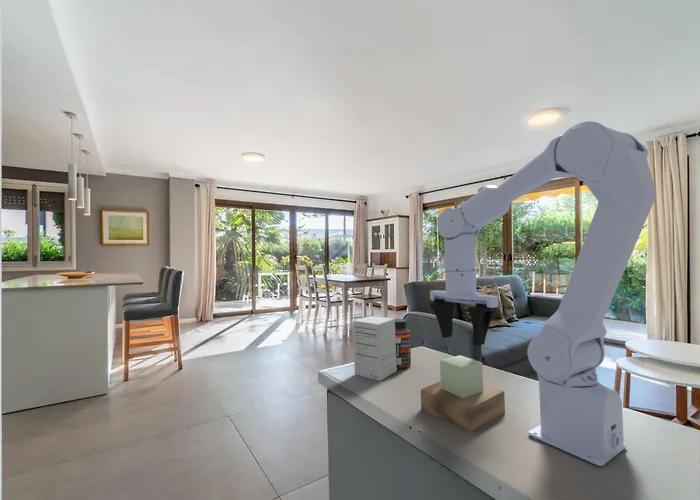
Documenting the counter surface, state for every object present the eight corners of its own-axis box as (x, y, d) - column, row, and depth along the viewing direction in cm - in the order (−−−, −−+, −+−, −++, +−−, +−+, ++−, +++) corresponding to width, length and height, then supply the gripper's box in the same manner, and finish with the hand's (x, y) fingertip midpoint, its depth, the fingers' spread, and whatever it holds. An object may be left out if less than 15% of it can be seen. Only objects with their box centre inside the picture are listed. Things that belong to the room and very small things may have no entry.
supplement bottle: (404, 371, 79) (402, 323, 80) (382, 366, 83) (381, 320, 83) (415, 364, 84) (413, 319, 84) (394, 360, 88) (393, 317, 88)
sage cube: (483, 391, 58) (482, 362, 58) (462, 398, 55) (461, 367, 55) (460, 382, 62) (459, 355, 62) (440, 388, 60) (440, 359, 60)
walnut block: (505, 414, 58) (504, 390, 58) (471, 434, 52) (470, 408, 52) (455, 396, 66) (454, 375, 66) (421, 411, 60) (420, 389, 60)
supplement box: (371, 366, 84) (370, 315, 84) (397, 372, 79) (395, 318, 79) (353, 375, 78) (351, 320, 78) (380, 381, 73) (378, 323, 73)
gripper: (507, 270, 62) (509, 344, 61) (445, 268, 74) (447, 330, 73) (483, 272, 58) (485, 351, 57) (422, 270, 70) (424, 335, 70)
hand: (462, 340), depth 65 cm, fingers open, 7 cm apart
